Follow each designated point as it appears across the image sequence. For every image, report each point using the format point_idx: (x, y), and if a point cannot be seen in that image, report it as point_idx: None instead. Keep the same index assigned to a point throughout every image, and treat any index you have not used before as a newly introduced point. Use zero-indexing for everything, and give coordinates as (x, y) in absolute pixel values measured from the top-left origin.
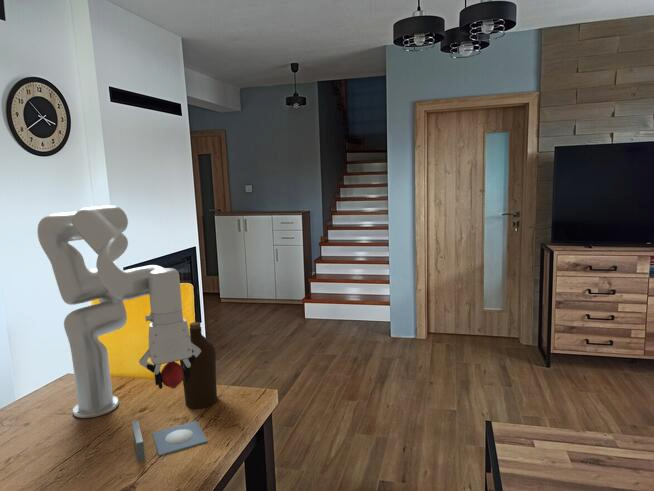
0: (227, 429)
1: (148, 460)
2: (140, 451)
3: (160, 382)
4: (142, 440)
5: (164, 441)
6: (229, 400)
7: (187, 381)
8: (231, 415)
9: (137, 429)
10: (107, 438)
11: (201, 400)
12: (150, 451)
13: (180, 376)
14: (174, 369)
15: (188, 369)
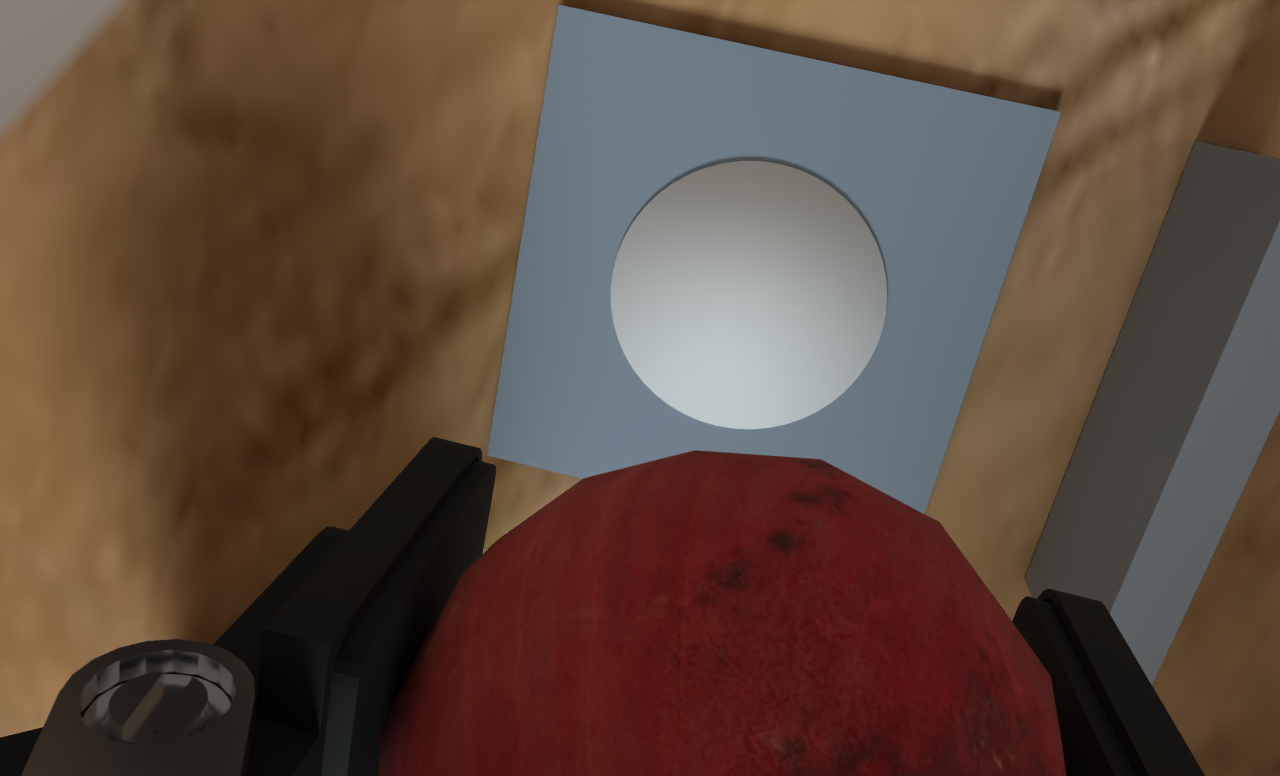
0: (302, 96)
1: (1168, 120)
2: None
3: (1121, 681)
4: None
5: (897, 321)
6: (106, 586)
7: (452, 448)
8: (178, 322)
9: (1189, 500)
10: (1239, 768)
11: None
12: (1070, 270)
13: (591, 509)
14: (720, 749)
15: (254, 653)
